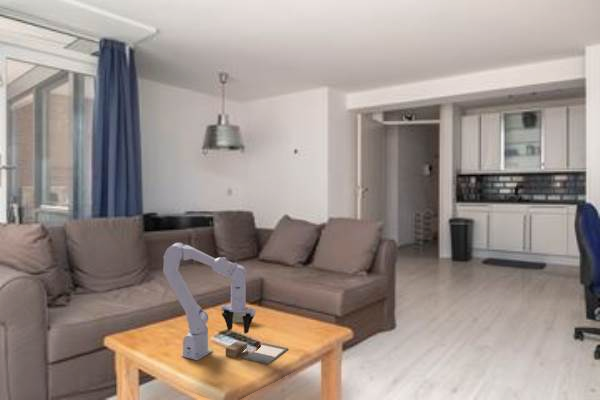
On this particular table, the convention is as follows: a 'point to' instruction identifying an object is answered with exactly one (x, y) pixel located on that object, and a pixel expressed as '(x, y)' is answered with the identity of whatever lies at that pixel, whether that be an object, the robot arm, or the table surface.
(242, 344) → the banded brown carton
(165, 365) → the table surface
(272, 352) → the mat
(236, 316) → the skincare box
